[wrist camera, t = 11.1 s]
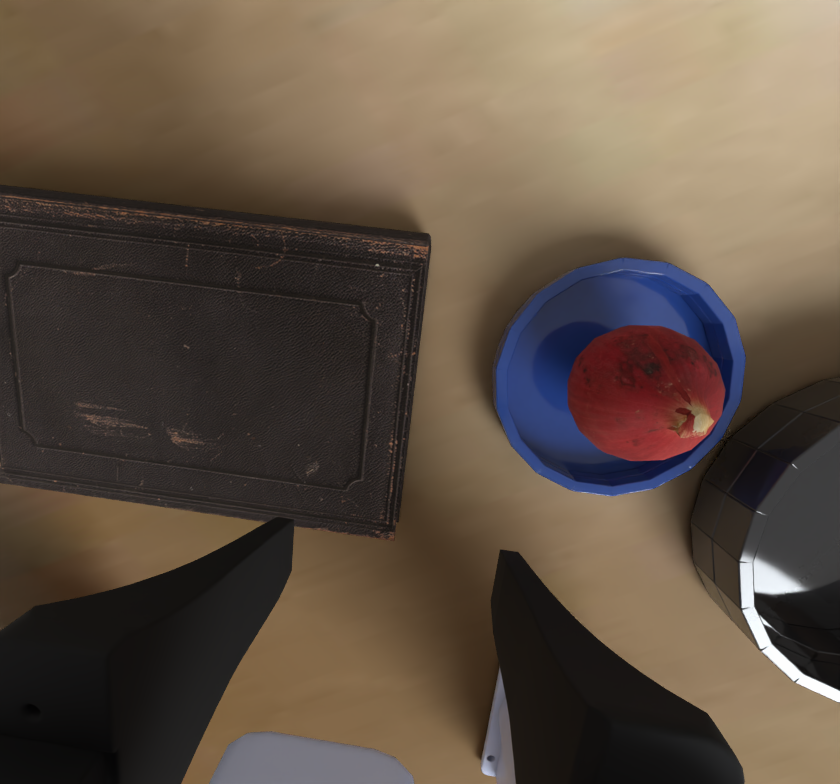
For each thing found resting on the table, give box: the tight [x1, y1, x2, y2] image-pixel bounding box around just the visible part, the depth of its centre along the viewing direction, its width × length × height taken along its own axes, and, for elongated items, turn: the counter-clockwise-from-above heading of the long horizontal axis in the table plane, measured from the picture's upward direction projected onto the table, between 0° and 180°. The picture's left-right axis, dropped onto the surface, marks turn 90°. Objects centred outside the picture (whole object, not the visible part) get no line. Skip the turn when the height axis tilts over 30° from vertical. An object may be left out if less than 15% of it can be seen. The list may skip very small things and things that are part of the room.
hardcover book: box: [0, 185, 431, 541], centre depth 21 cm, size 16×23×2 cm
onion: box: [567, 325, 725, 461], centre depth 17 cm, size 6×6×8 cm
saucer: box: [492, 257, 746, 496], centre depth 20 cm, size 12×12×2 cm
